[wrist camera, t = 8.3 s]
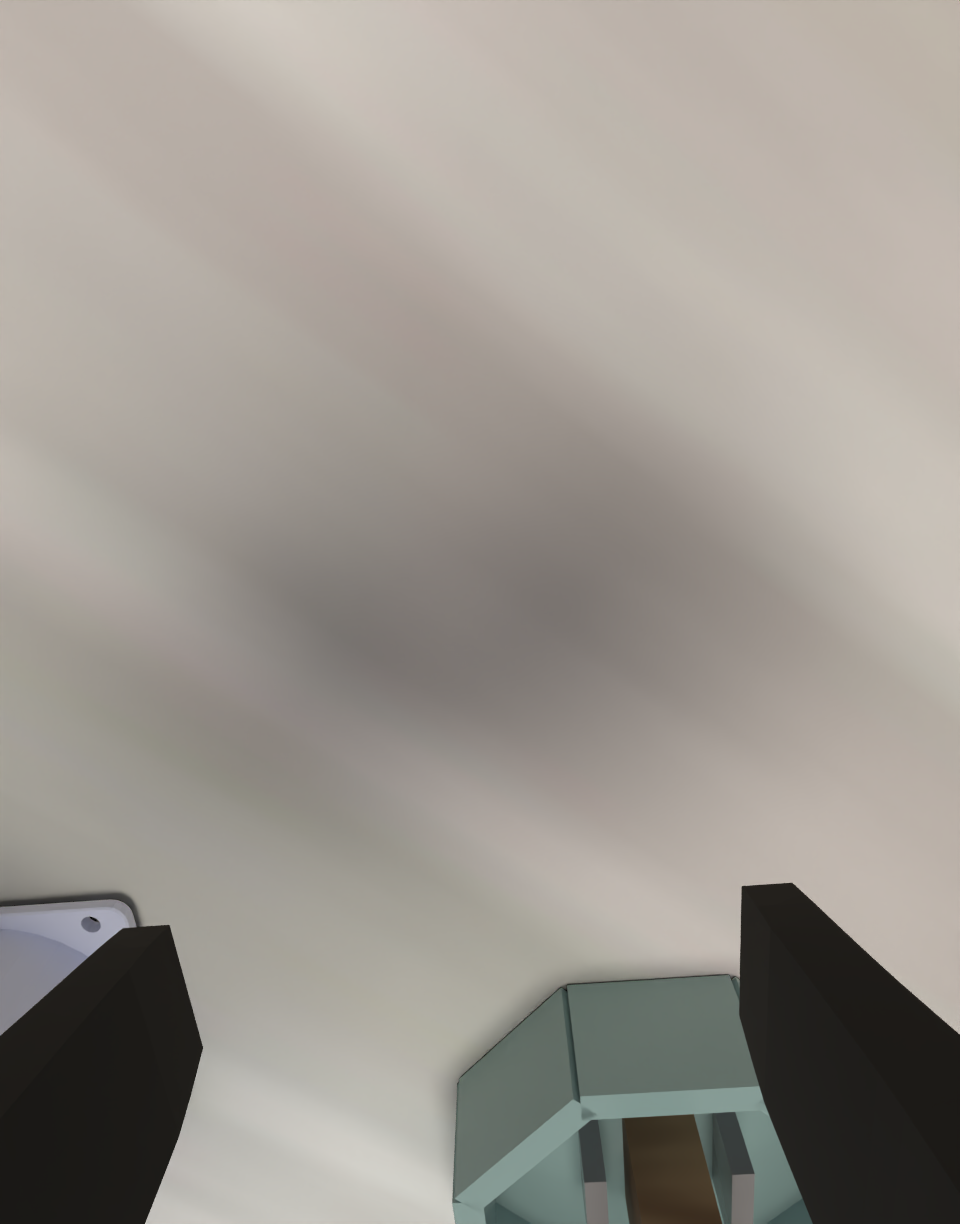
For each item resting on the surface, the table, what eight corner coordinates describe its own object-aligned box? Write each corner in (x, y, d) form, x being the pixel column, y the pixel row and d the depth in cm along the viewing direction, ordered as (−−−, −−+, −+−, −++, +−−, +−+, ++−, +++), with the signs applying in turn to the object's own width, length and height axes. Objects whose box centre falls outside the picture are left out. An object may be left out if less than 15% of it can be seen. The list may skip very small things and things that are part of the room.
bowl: (481, 1262, 27) (481, 1394, 23) (445, 992, 23) (437, 1104, 19) (832, 1245, 26) (881, 1376, 23) (854, 966, 22) (918, 1077, 19)
